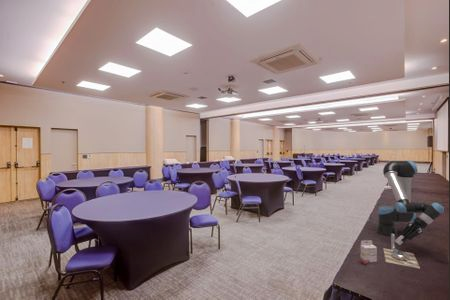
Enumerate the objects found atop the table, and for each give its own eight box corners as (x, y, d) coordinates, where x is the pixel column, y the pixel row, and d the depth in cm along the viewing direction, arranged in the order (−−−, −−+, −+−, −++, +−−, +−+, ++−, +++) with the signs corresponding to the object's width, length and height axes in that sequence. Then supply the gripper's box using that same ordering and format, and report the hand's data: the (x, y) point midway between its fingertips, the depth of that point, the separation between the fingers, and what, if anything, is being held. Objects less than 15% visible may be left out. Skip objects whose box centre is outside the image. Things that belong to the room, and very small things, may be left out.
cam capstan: (385, 251, 170) (384, 233, 169) (399, 251, 169) (399, 233, 169) (401, 263, 153) (401, 243, 152) (417, 263, 152) (417, 243, 152)
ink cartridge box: (365, 264, 156) (364, 243, 156) (360, 261, 161) (360, 240, 161) (377, 264, 157) (377, 242, 156) (372, 260, 161) (372, 239, 161)
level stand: (383, 250, 175) (383, 247, 175) (413, 255, 166) (413, 252, 166) (386, 263, 156) (385, 261, 156) (420, 270, 147) (420, 267, 147)
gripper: (434, 228, 156) (407, 251, 160) (420, 221, 170) (395, 242, 174) (425, 220, 157) (398, 243, 160) (412, 213, 171) (387, 235, 174)
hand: (397, 243), depth 167 cm, fingers closed
